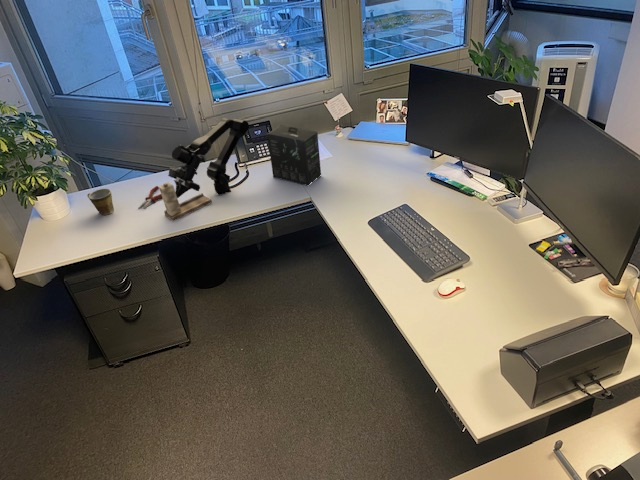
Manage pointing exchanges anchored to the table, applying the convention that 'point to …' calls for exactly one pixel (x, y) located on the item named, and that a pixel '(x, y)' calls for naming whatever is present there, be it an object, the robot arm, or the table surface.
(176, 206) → the beige boxy piece
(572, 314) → the table surface
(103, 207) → the ceramic cup
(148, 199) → the pliers
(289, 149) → the headset box
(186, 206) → the board
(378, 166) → the table surface
